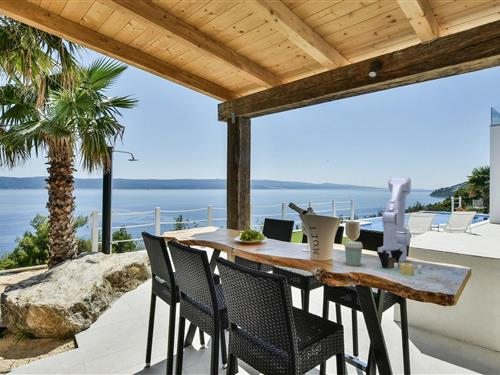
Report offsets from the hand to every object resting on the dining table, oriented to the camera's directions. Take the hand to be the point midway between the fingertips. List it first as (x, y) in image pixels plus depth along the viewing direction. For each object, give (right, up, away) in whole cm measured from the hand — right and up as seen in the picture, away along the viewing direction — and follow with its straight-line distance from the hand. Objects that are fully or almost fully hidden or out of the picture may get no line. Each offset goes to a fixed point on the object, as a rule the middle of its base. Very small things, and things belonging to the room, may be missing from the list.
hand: (389, 266), depth 142 cm
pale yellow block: (+2, 0, -12) cm, 12 cm away
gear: (0, 0, 0) cm, 0 cm away
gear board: (+2, -2, -7) cm, 7 cm away
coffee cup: (-16, -2, +4) cm, 16 cm away
